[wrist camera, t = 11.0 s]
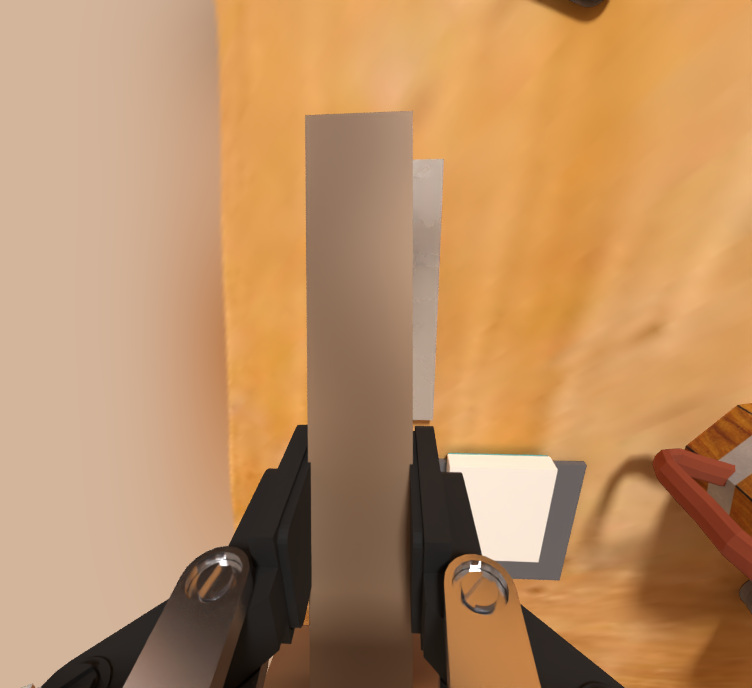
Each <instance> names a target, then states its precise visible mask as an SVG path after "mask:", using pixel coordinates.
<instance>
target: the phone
mask: <svg viewBox="0 0 752 688" xmlns="http://www.w3.org/2000/svg"><path fill="white" fill-rule="evenodd" d="M570 1H572V2H574V3H577V4H579V5H581V6H584V7H593V6H596V5H598V4H599V3H601V2H602V1H603V0H570Z"/></svg>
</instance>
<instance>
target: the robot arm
mask: <svg viewBox="0 0 752 688" xmlns="http://www.w3.org/2000/svg"><path fill="white" fill-rule="evenodd" d="M311 587H312V552H311V462H308V425H297V427H296V429H295V431H294V433H293V436H292V438H291V440H290V442H289V445H288V447H287V449H286V451H285V454H284V456H283V458H282V460H281V462H280V465H279V467H278V469H267V470H266V471H265V473H264V475H263V477H262V479H261V481H260V483H259V485H258V487H257V489H256V491H255V493H254V495H253V497H252V499H251V501H250V503H249V505H248V507H247V509H246V511H245V513H244V515H243V517H242V519H241V521H240V523H239V526H238V528H237V530H236V532H235V534H234V536H233V538H232V540H231V542H230V544H229V546H223V547H217V548H214V549H212V550H209V551H207V552H205V553H203V554H202V555H200V556H199V557H197V558H196V559H195V560H194V561H193V562H192V563H190V564H189V566H187V568H186V569H185V571H184V572H183V574H182V575H181V577H180V579H179V580H178V582H177V585H176V586H175V588H174V590H173V592H172V594H171V596H170V598H169V599H168V600H167V601H165V602H163V603H161V604H160V605H158V606H157V607H155V608H153V609H152V610H150V611H149V612H147V613H146V614H144V615H143V616H141V617H139V618H138V619H136V620H134V621H133V622H131V623H130V624H128V625H127V626H125V627H123V628H122V629H120V630H119V631H117V632H116V633H114V634H112V635H111V636H109V637H108V638H106V639H104V640H103V641H101V642H100V643H98V644H97V645H95V646H93V647H92V648H90V649H89V650H87V651H85V652H84V653H82V654H81V655H79V656H78V657H76V658H74V659H73V660H71V661H70V662H68V663H67V664H66V665H64V666H63V667H62V668H60V669H59V670H58V671H57V672H56V673H54V674H53V675H52V676H51V677H50V678H49V679H48V680H47V682H45V683H44V684H43V685H42V686H41V687H39V688H263V686H264V682H265V678H266V673H267V668H268V661H269V659H270V658H271V657H272V656H273V655H274V654H275V653H277V652H278V651H279V650H280V646H281V644H291V643H292V639H293V635H294V630H295V628H302V626H303V623H304V619H305V614H306V610H307V605H308V601H309V596H310V592H311ZM410 608H411V633H418V634H420V642H421V650H423V657H424V658H425V659H426V661H427V662H428V663H429V664H430V665H431V666H432V667H433V669H434V670H435V671H436V672H437V673H438V688H624V687H623V686H622V685H621V684H619V683H618V682H617V681H616V680H614V679H613V678H612V677H611V676H609V675H608V674H607V673H606V672H604V671H603V670H602V669H601V668H599V667H598V666H597V665H596V664H594V663H593V662H592V661H591V660H589V659H588V658H587V657H586V656H584V655H583V654H582V653H581V652H580V651H578V650H577V649H576V648H575V647H573V646H572V645H571V644H570V643H568V642H567V641H566V640H565V639H563V638H562V637H561V636H560V635H558V634H557V633H556V632H555V631H553V630H552V629H551V628H550V627H548V626H547V625H546V624H545V623H543V622H542V621H541V620H540V619H538V618H537V617H536V616H535V615H533V614H532V613H531V612H530V611H529V610H527V609H526V608H525V607H524V606H522V605H521V604H520V601H519V597H518V593H517V589H516V587H515V584H514V582H513V579H512V578H511V576H510V575H509V574H508V572H507V571H506V570H505V569H504V568H503V567H502V566H501V565H500V564H498V563H497V562H496V561H494V560H492V559H490V558H488V557H486V556H482V552H481V548H480V544H479V540H478V535H477V531H476V527H475V523H474V519H473V515H472V510H471V506H470V502H469V498H468V494H467V490H466V486H465V481H464V477H463V474H462V473H461V472H441V471H440V464H439V458H438V452H437V446H436V439H435V433H434V428H433V426H415V431H413V464H410ZM22 688H35V686H34V685H33V684H30V685H27V686H25V687H22Z"/></svg>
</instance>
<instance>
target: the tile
mask: <svg viewBox="0 0 752 688" xmlns="http://www.w3.org/2000/svg"><path fill="white" fill-rule="evenodd" d="M557 471H558V469H557V468H556V466H555V464H554V463H553V461H552V459H551V458H550V457H548V456H547V455H514V454H471V453H448V455H447V470H446V472H461V473H462V474H463V477H464V481H465V486H466V490H467V494H468V498H469V502H470V506H471V510H472V515H473V519H474V523H475V527H476V531H477V535H478V540H479V544H480V548H481V552H482V556H486V557H488V558H490V559H492V560H494V561H518V562H539V557H540V552H541V547H542V543H543V538H544V533H545V528H546V524H547V519H548V514H549V509H550V504H551V500H552V495H553V490H554V485H555V481H556V476H557Z"/></svg>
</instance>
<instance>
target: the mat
mask: <svg viewBox="0 0 752 688" xmlns="http://www.w3.org/2000/svg"><path fill="white" fill-rule="evenodd" d="M553 463H554V464H555V466H556V468H557V469H558V471H557V476H556V481H555V485H554V490H553V495H552V500H551V504H550V509H549V514H548V519H547V524H546V528H545V533H544V538H543V543H542V547H541V552H540V557H539V562H518V561H496V562H497V563H498V564H500V565H501V566H502V567H503V568H504V569H505V570H506V571H507V572H508V574H509V575H510V576H511V578H512V579H536V580H560V576H561V572H562V567H563V563H564V559H565V555H566V550H567V546H568V542H569V538H570V534H571V529H572V525H573V521H574V517H575V512H576V508H577V504H578V500H579V495H580V491H581V487H582V483H583V478H584V474H585V470H586V466H587V465H586V464H585V462H584V461H553ZM439 464H440V471H441V472H446V470H447V459H439Z"/></svg>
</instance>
